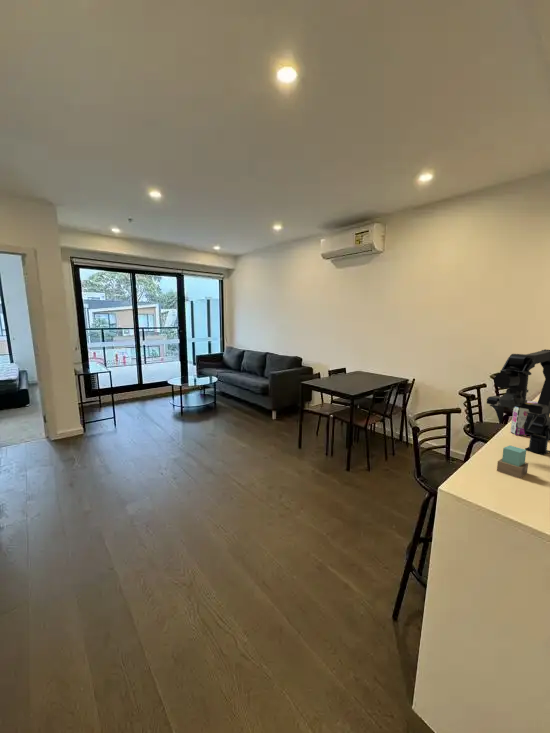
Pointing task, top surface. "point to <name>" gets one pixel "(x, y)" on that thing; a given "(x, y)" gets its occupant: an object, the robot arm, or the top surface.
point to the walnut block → (512, 469)
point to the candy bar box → (519, 419)
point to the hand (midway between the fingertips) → (513, 425)
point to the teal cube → (514, 455)
